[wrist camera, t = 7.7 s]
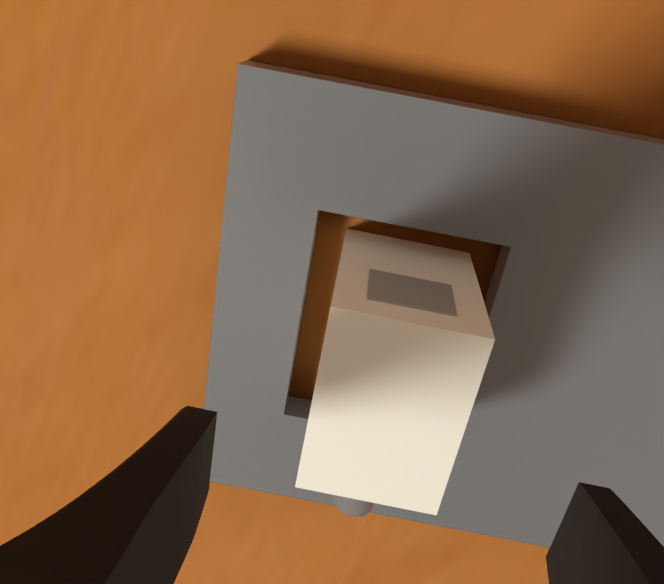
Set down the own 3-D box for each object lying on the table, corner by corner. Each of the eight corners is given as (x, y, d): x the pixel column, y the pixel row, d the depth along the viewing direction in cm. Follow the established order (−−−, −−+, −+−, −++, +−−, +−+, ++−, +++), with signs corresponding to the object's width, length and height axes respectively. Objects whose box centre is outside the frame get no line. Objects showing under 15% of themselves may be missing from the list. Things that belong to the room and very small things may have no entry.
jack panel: (901, 593, 21) (930, 628, 20) (205, 458, 22) (194, 485, 20) (1189, 238, 16) (1253, 258, 15) (247, 60, 16) (235, 65, 15)
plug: (409, 456, 21) (413, 583, 16) (305, 436, 21) (281, 556, 16) (469, 250, 18) (495, 337, 13) (346, 226, 18) (331, 304, 13)
